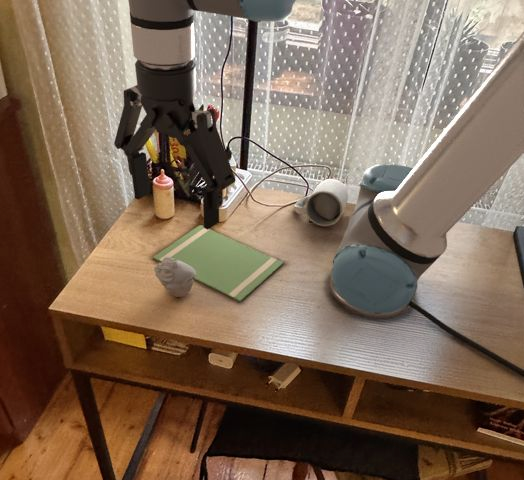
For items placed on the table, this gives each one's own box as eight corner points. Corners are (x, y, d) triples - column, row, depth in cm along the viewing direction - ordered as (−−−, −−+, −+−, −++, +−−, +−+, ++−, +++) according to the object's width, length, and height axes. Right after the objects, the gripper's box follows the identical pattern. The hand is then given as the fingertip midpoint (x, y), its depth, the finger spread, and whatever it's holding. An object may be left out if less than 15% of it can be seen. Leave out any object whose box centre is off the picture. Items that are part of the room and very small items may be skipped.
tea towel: (283, 263, 102) (283, 262, 102) (240, 302, 94) (240, 300, 94) (200, 226, 109) (200, 224, 109) (153, 258, 101) (152, 256, 101)
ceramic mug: (346, 210, 117) (352, 177, 111) (338, 230, 111) (344, 196, 106) (299, 200, 119) (303, 168, 113) (289, 219, 113) (292, 186, 108)
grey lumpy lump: (157, 282, 96) (154, 250, 91) (196, 282, 97) (196, 249, 92) (156, 305, 92) (152, 272, 87) (197, 304, 93) (196, 272, 88)
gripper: (264, 75, 65) (257, 226, 80) (113, 31, 74) (132, 175, 89) (228, 93, 61) (227, 250, 76) (71, 44, 70) (99, 193, 85)
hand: (176, 210), depth 83 cm, fingers open, 13 cm apart
